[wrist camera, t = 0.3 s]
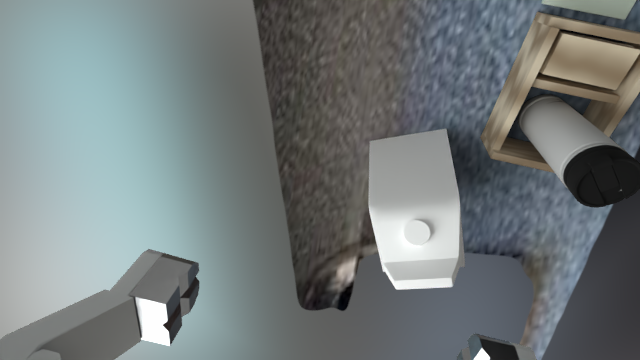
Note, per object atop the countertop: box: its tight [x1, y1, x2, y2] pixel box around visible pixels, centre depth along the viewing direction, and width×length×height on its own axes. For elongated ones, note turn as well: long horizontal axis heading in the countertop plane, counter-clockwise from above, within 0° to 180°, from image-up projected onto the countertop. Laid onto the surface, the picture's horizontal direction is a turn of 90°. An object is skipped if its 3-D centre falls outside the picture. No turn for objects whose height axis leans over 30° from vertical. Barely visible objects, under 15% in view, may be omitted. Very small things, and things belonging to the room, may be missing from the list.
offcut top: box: [539, 31, 640, 90], centre depth 43 cm, size 5×9×2 cm, turn 80°
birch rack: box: [480, 12, 640, 173], centre depth 47 cm, size 18×13×7 cm
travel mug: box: [517, 94, 640, 207], centre depth 43 cm, size 6×7×20 cm
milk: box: [369, 129, 465, 289], centre depth 49 cm, size 12×12×26 cm
